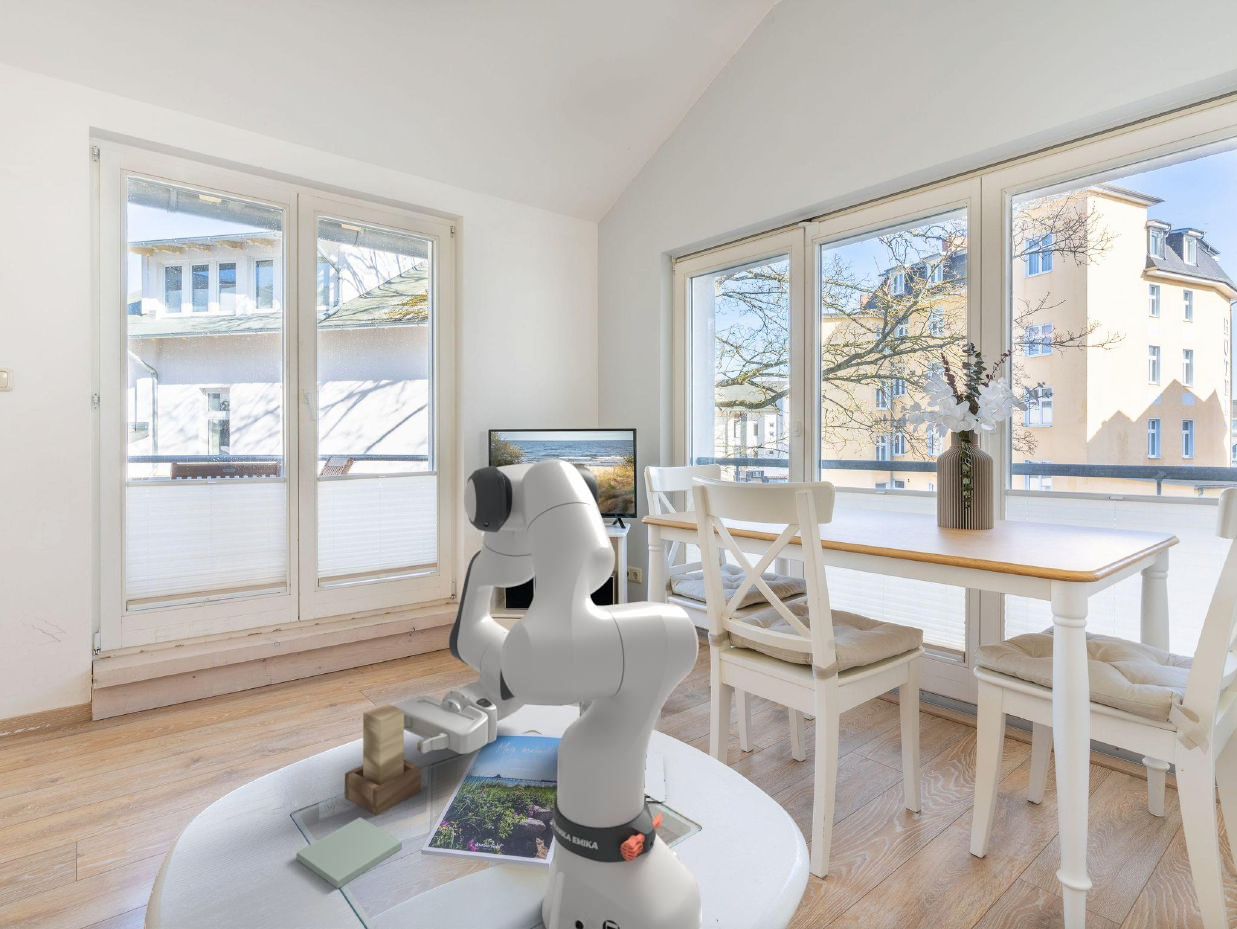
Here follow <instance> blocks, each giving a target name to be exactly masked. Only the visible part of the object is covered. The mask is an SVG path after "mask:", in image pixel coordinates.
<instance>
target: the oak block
mask: <svg viewBox="0 0 1237 929" xmlns="http://www.w3.org/2000/svg"><path fill="white" fill-rule="evenodd" d="M362 721H363V722H362V723H363V729H362V730H363V734H362V738H363V739H362V740H363V741H362V745H363V746H362V747H363V748H362V750H363V751H362V755H363V756H362V758H363V759H362V765H363V778H365V779H367V780H369V781H371V782H373V783H374V784H376V785H378V786H379V785H381V784H383V783H385V782H387V781H389V780H391V779H393V778H395V777H396V776H398V775H400V774H402V773H404V760H405V759H404V756H405V753H404V752H405V751H404V750H405V748H404V747H405V745H404V744H405V739H404V738H405V730H404V710H402V709H399V708H397V707H394V706H393V705H392V704H389V703H384V704H382V705H379V706H377V707H375V708H372V709H370V710H367V711H364V712H363V719H362Z"/></svg>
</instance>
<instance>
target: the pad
mask: <svg viewBox="0 0 1237 929" xmlns="http://www.w3.org/2000/svg"><path fill="white" fill-rule="evenodd" d="M402 848H403V842H402V840H400V839H398V838H396V837H394V836H393V835H391V834H390V833H388V832H386V831H385V830H382V829H381V828H379V827H377V826H376V825H374V824H372V823H371V822H369V821H367V820H366V819H364V818H362V817H361V816H360V817H358V818H356V819H354V820H353V821H351V822H349V823H347V824H346V825H343V826H342V827H339V828H337V830H334V831H332V832H330V833H329V834H327V835H325V836H323V837H321V838H320V839H318V840H315V841H314V842H312V843H310V844H309V845H306V846H305V847H303V848H301V849H299V850H297V851H296V860H298V861H299V862H300V863H301V864H303V865H304V866H306V867H308V869H310V870H312V871H313V872H314V873H316V874H317V875H318V876H320V877H321V878H322V879H324V880H325V881H327V882H328V883H329V884H331V885H332V886H334V887H335V888H336V889H340V888H341V887H343V886H345V885H346V884H347V883H350V882H351V881H353V880H354V879H355V878H357V877H359V876H361V875H362V874H364V873H365V872H367V871H368V870H370V869H372V868H373V867H375V866H376V865H378V864H380V863H382V861H384V860H387V858H389V857H391V856H392V855H394V854H395V853H397V852H399V851H400V850H402Z"/></svg>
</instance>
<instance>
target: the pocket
mask: <svg viewBox="0 0 1237 929" xmlns="http://www.w3.org/2000/svg"><path fill="white" fill-rule="evenodd" d="M421 791H422V767H421V766H419V765H418V764H417V765H416V764H415V763H413V762H411V761H408V760H406V759H404V773H402V774H400V775H398V776H396V777H395V778H393V779H391V780H389V781H387V782H385V783H383V784H381V785H379V786H378V785H376V784H374V783H373V782H371V781H369V780H367V779H365V778H363V764H362V765H360V766H357V767H356V768H353V769H351V770H349V771H347V772H345V773H344V798H346V799H347V800H349V801H351V802H353V803H355V804H356V805H358V806H359V807H361V808H363V809H365V810H367V812H370V813H372V814H373V815H375V816H378V815H380V814H382V813H384V812H385V811H387V810H390V809H391V808H393V807H394V806H396V805H398V804H401V803H402V802H403V801H406V800H407V799H409V798H411V797H412V796H414V795H416V794H418V793H419V792H420V793H421Z"/></svg>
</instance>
